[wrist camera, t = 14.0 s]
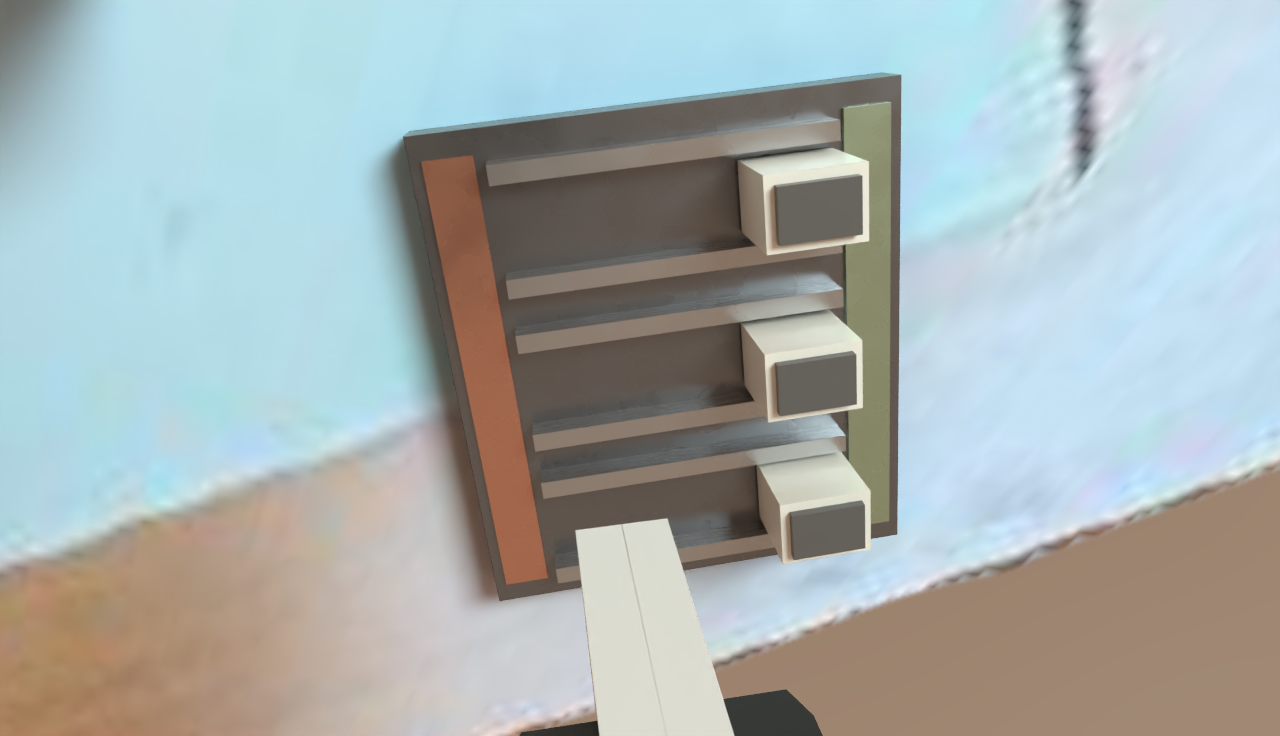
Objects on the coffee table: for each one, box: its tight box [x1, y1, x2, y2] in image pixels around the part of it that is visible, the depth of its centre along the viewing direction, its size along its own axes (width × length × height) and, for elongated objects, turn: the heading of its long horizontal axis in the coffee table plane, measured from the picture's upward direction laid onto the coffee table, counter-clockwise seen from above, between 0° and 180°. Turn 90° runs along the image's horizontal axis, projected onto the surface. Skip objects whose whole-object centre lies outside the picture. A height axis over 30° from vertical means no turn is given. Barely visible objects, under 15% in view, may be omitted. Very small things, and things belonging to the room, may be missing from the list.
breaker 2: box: [741, 310, 863, 423], centre depth 36 cm, size 4×3×4 cm
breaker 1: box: [737, 148, 869, 255], centre depth 33 cm, size 4×3×4 cm
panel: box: [404, 73, 901, 601], centre depth 38 cm, size 20×22×3 cm
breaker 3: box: [756, 452, 871, 564], centre depth 39 cm, size 4×3×4 cm
